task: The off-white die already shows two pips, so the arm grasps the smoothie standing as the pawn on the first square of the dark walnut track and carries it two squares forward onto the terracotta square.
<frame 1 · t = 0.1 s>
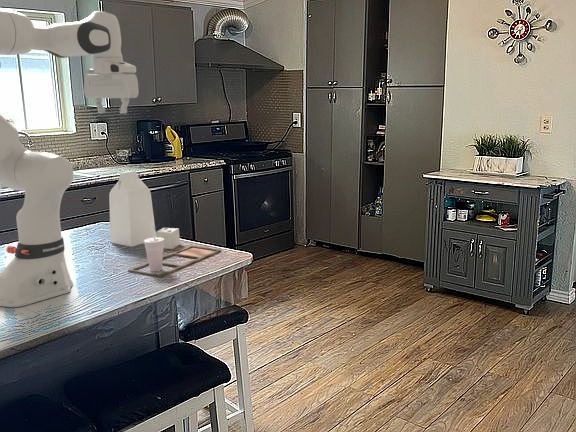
hand: (112, 113, 181), 48 cm above the kitchen island, fingers open, 8 cm apart
milk: (133, 241, 215), on the kitchen island
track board: (177, 261, 188), on the kitchen island
smoothie: (156, 270, 180), resting on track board
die: (168, 246, 207), on the kitchen island
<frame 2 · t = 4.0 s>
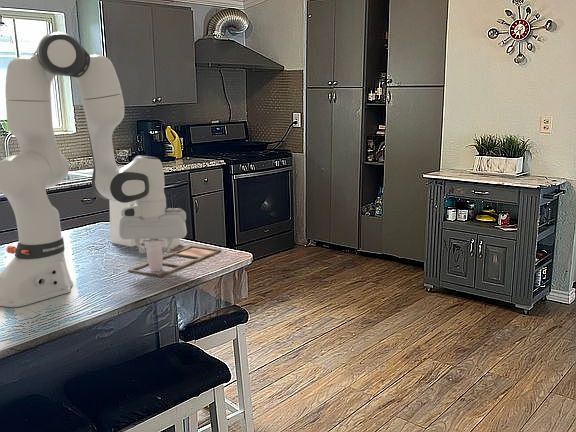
hand: (154, 252, 178), 6 cm above the kitchen island, fingers closed on smoothie, 6 cm apart
smoothie: (156, 270, 180), resting on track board, touching gripper
everything else where it was.
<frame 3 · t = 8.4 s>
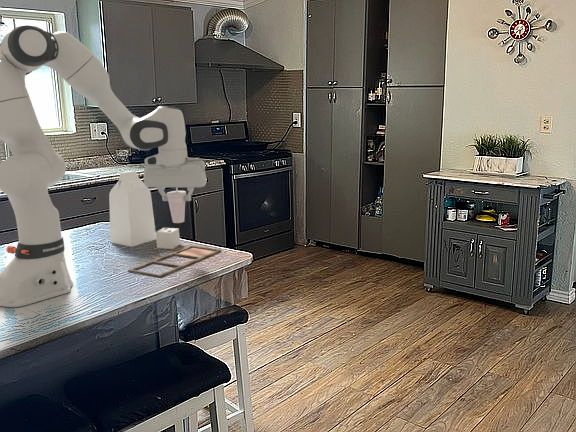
hand: (176, 200, 185), 20 cm above the kitchen island, fingers closed on smoothie, 6 cm apart
smoothie: (178, 222, 187), point 13 cm above the kitchen island, touching gripper
everything else where it was.
when the fingers open (7 cm above the kitchen island, at t = 12.6 s): smoothie stays where it is, resting on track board.
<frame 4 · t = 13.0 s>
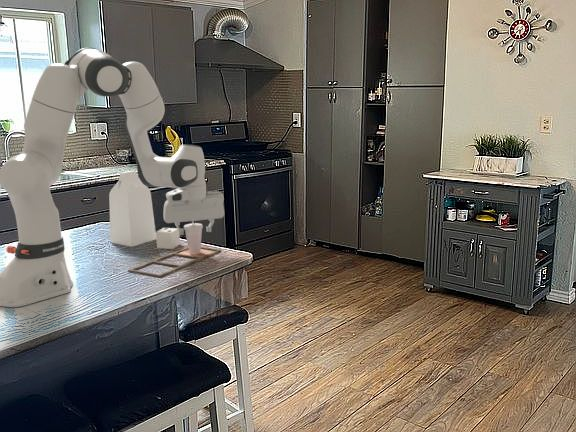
hand: (195, 233, 195), 7 cm above the kitchen island, fingers open, 8 cm apart
smoothie: (194, 253, 196), resting on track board
everything else where it was.
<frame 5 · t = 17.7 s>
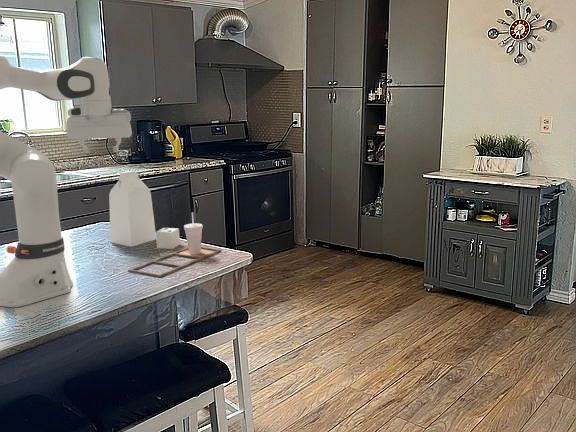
hand: (101, 152, 188), 35 cm above the kitchen island, fingers open, 8 cm apart
nothing on the kitchen island moved.
at the end: smoothie inside the target area (0.6 cm from its centre), resting on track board; smoothie tilted 0°; the gripper is holding nothing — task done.
